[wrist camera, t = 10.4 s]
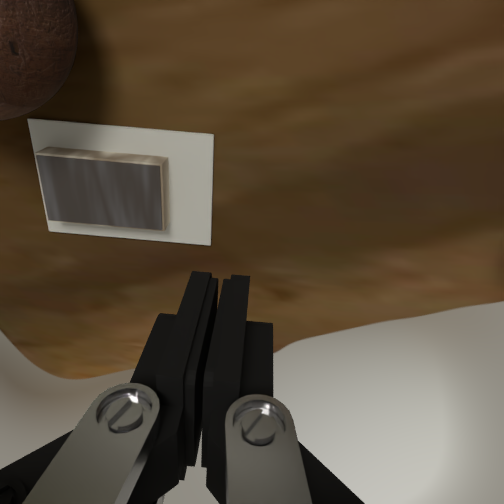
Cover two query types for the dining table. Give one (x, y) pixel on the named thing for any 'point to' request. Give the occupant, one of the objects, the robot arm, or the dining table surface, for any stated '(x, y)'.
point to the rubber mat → (144, 143)
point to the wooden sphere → (34, 52)
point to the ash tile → (105, 188)
